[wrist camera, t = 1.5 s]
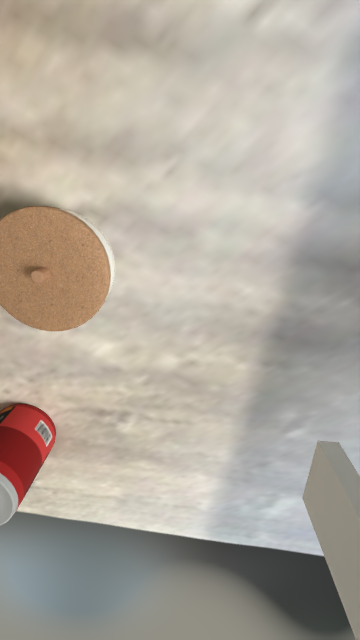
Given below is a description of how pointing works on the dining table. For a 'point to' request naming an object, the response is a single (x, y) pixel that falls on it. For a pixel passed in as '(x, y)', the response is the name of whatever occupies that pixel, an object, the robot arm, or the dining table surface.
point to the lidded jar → (53, 267)
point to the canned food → (21, 453)
